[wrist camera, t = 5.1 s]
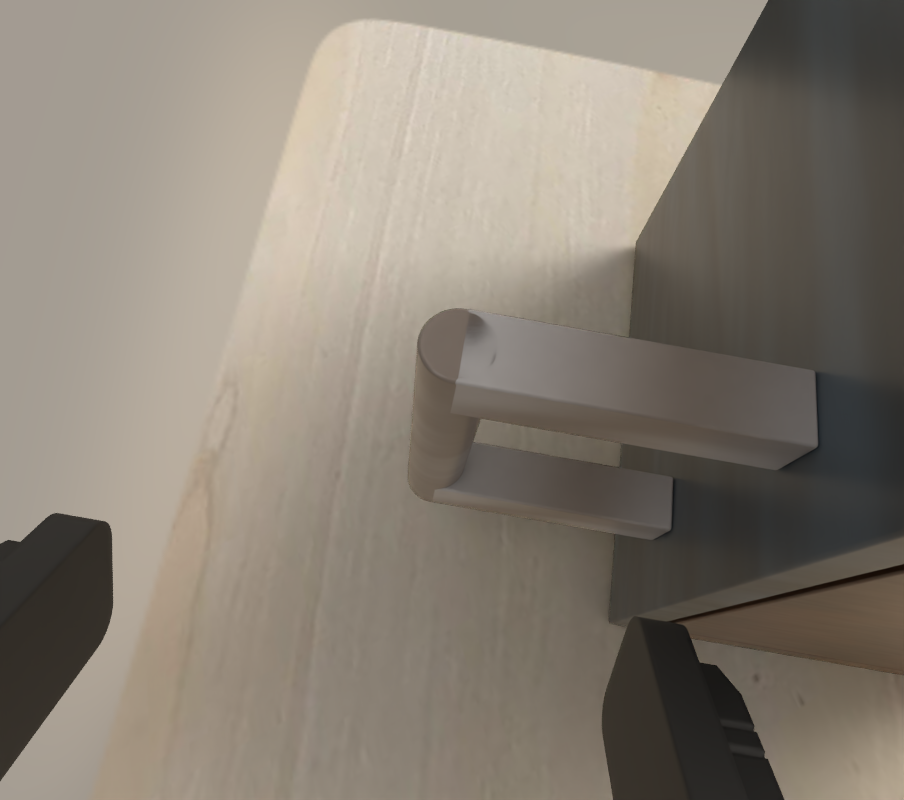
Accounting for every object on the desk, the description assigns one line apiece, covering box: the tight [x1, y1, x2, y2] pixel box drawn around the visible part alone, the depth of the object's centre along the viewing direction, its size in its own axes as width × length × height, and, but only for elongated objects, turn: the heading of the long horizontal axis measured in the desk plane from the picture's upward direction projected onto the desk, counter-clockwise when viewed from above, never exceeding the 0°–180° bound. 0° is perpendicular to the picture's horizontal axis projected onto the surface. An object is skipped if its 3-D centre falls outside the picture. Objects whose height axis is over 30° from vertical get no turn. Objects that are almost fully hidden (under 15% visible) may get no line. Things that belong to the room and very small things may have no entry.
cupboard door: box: [408, 0, 904, 626], centre depth 17 cm, size 8×14×16 cm, turn 171°
